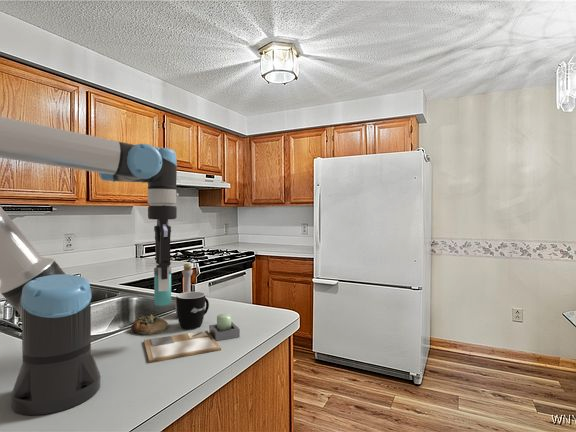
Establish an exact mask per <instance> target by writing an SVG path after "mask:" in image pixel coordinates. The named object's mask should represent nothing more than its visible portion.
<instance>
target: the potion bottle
mask: <svg viewBox="0 0 576 432" xmlns="http://www.w3.org/2000/svg"><path fill="white" fill-rule="evenodd" d="M193 271H194V270H193V269H192V265H191V264H189V263H184V264H183V269H181V274H182V276H183V283H184V284H183V293H185V292H191V276H193ZM174 308H175V312H176V314H177V305H176V301H175V303H174Z"/></svg>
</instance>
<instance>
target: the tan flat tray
mask: <svg viewBox="0 0 576 432" xmlns="http://www.w3.org/2000/svg"><path fill="white" fill-rule="evenodd" d="M143 344H144V348H145V351H146V352H145V353H146V355H147V358H148V359H147V360H148V363H149V364H150V363H155V362H156V363H157V362H161V361H162V362H163V361H167V360H173V359H178V357H179V358H185V357H189V356H190V355H191V356H195V355H200V354H201V355H202V354H206V353H211V352H218V351H221V350H222V347H221V345H220V344H219V343H218V341H215V340H214V338H213V337H212V336H211V335H210V333H209V331H208V329H207V330H201V331H194V332H188V333H181V334H175V335H169V336H168V335H167V336H161V337H160V336H159V337H155V338H153V337H152V338H148V339H146V338H145V339H143ZM184 356H185V357H184Z"/></svg>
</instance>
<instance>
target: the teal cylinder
mask: <svg viewBox="0 0 576 432" xmlns="http://www.w3.org/2000/svg"><path fill="white" fill-rule="evenodd" d="M153 275H154V279H153V281H154V283H153V285H154V289H153V291H154V295H153V297H154V298H153V300H154V301H153V302H154V306H156V307H163V306H169V305H171V304H172V266H169V291H160V292H159V291H158V268H157V267H156V266H155V267H154V268H153Z"/></svg>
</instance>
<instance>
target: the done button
mask: <svg viewBox="0 0 576 432" xmlns="http://www.w3.org/2000/svg"><path fill="white" fill-rule="evenodd" d="M231 322H232V314H229V313H223V314H217V317H216V324H217V330H218V331H222V330H229V329H231Z"/></svg>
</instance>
